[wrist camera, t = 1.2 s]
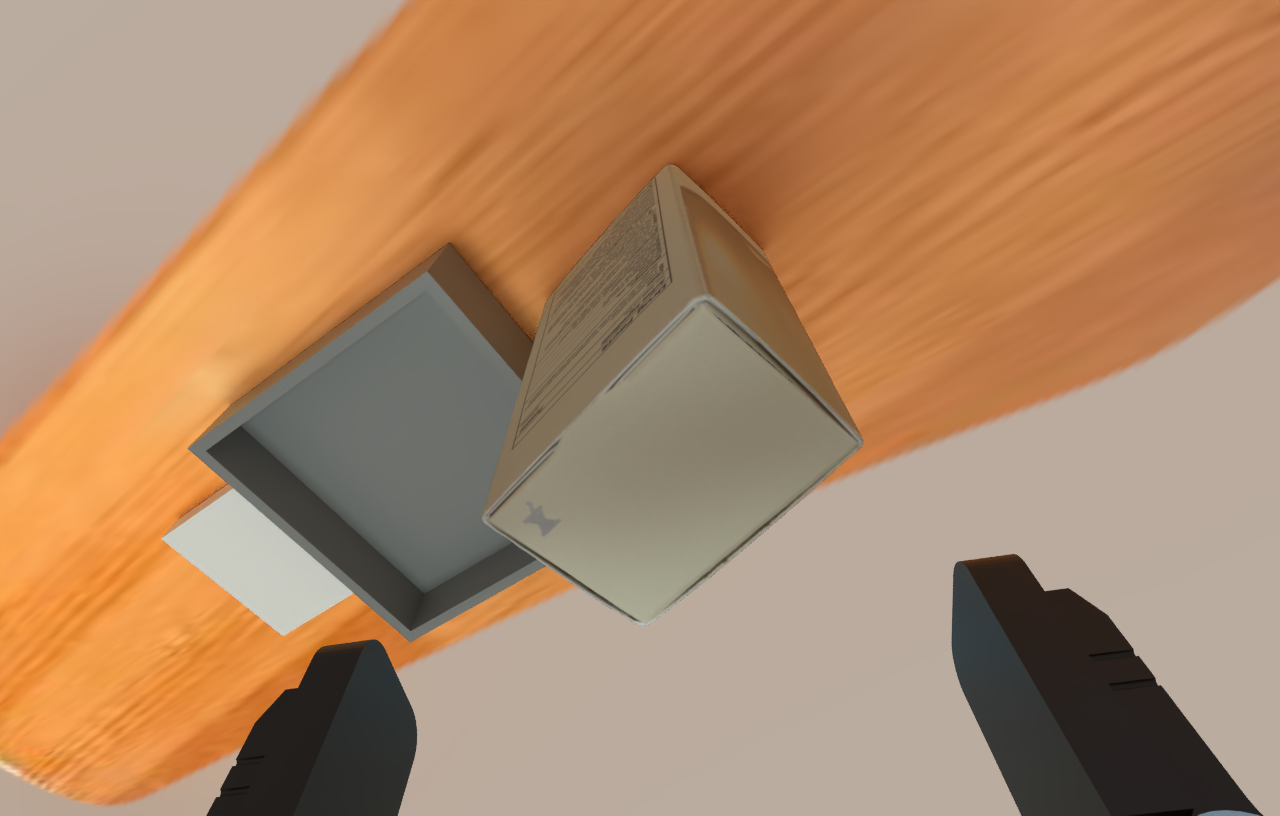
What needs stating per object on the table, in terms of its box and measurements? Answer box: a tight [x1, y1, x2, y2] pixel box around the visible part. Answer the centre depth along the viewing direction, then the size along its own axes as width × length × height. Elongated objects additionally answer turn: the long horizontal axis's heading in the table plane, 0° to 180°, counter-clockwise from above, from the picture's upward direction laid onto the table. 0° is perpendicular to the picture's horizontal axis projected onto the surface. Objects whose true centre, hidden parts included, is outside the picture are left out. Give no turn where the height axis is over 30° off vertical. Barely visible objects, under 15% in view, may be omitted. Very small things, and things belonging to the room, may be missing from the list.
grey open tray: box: [161, 243, 546, 642], centre depth 27 cm, size 16×10×3 cm, turn 125°
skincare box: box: [482, 164, 863, 626], centre depth 19 cm, size 6×4×12 cm
